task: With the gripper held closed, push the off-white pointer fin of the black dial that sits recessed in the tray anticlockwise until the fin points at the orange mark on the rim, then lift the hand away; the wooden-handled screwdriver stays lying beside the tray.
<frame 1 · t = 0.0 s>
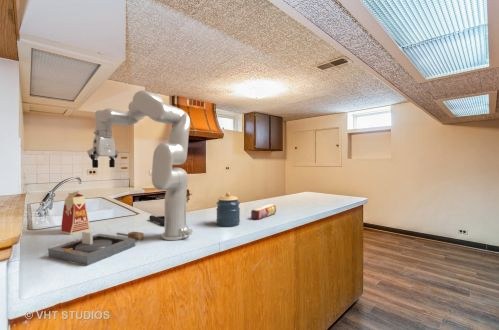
hand: (103, 167, 130), 31 cm above the counter, tool pointing down, fingers open, 9 cm apart
canister: (228, 224, 137), on the counter
screwdriver: (130, 238, 111), on the counter
tray: (94, 251, 95), on the counter
milk carton: (75, 231, 122), on the counter
door handle: (167, 222, 143), on the counter
dial: (94, 240, 95), point 4 cm above the counter, hinge at 0.0°
snack package: (264, 217, 156), on the counter
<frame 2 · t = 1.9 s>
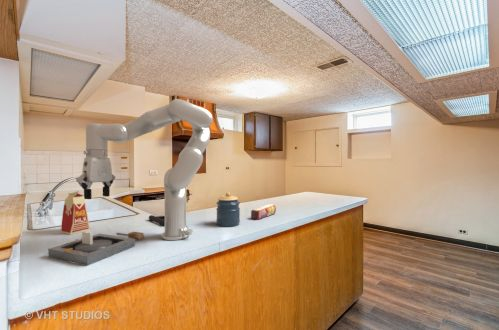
hand: (97, 197, 101), 20 cm above the counter, tool pointing down, fingers open, 7 cm apart
nothing on the counter moved.
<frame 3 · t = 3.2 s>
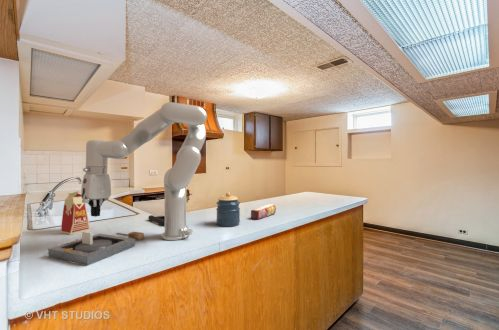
hand: (95, 215, 101), 12 cm above the counter, tool pointing down, fingers closed
nothing on the counter moved.
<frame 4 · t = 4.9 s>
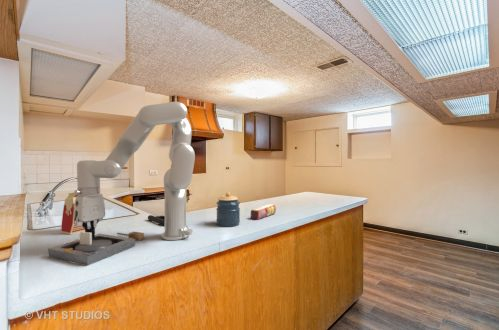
hand: (90, 237, 98), 4 cm above the counter, tool pointing down, fingers closed
dial: (94, 240, 95), point 4 cm above the counter, hinge at 10.6°, touching gripper
everything else where it was.
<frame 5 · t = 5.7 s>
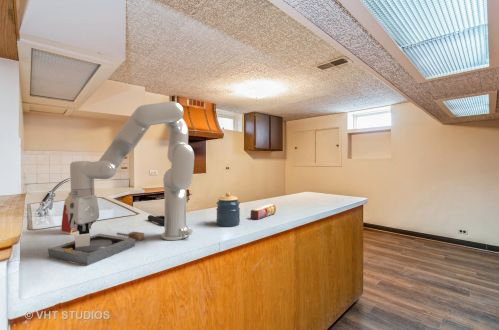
hand: (84, 240, 96), 4 cm above the counter, tool pointing down, fingers closed
dial: (94, 240, 95), point 4 cm above the counter, hinge at 47.5°, touching gripper
everything else where it was.
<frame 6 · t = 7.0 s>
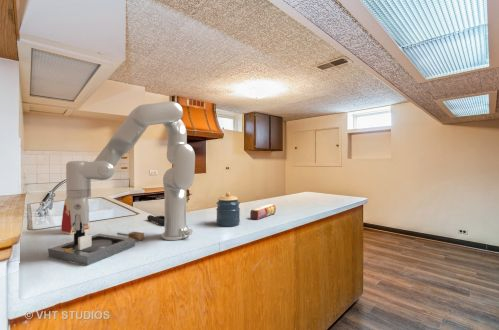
hand: (79, 243, 92), 4 cm above the counter, tool pointing down, fingers closed
dial: (94, 240, 95), point 4 cm above the counter, hinge at 91.8°
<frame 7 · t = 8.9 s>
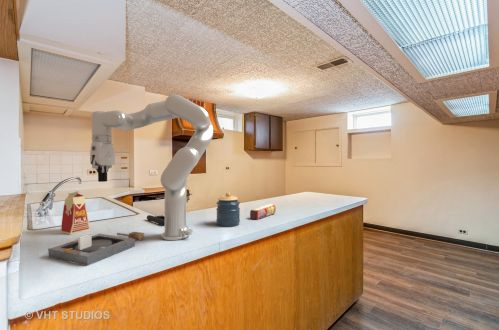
hand: (102, 181, 110), 26 cm above the counter, tool pointing down, fingers closed
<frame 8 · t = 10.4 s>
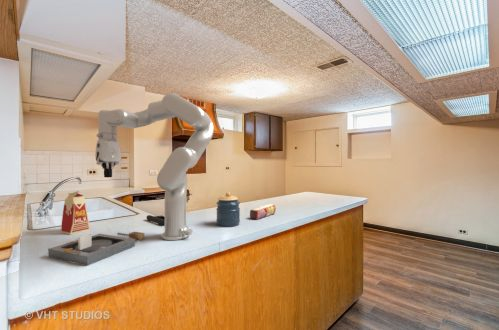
hand: (108, 177, 115), 27 cm above the counter, tool pointing down, fingers closed
at the end: dial at +92° (first picture: +0°); screwdriver moved 0.5 cm from its start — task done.
